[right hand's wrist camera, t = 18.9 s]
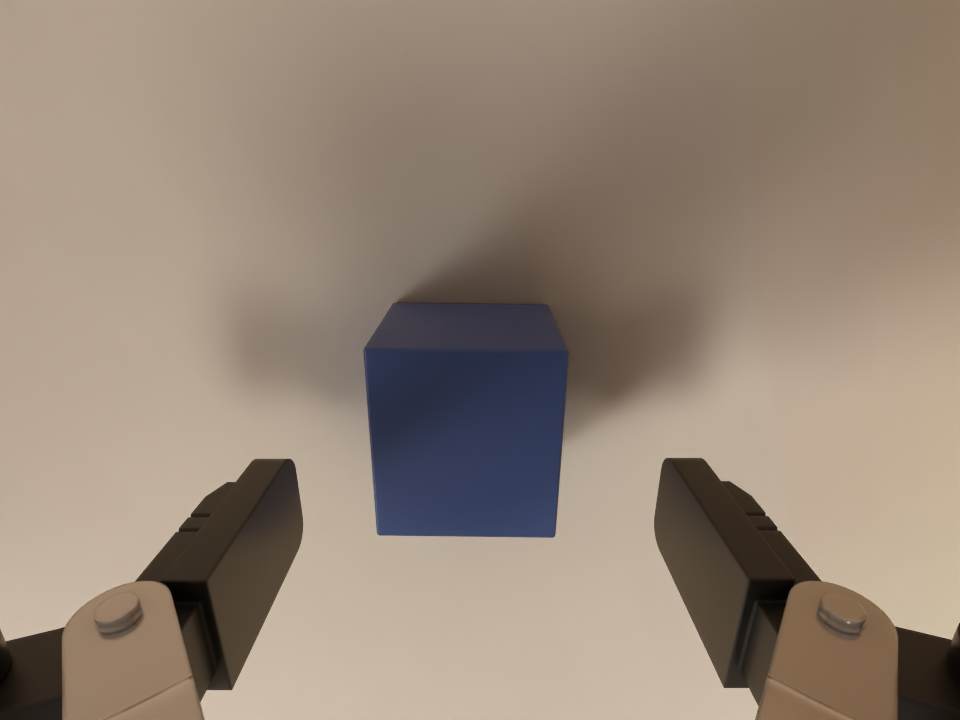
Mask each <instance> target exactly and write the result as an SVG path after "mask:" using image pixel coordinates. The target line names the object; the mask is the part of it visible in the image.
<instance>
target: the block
mask: <svg viewBox="0 0 960 720" xmlns="http://www.w3.org/2000/svg"><path fill="white" fill-rule="evenodd" d="M568 361H569V351H568V349H567V347H566V345H565V342H564V340H563V338H562V336H561V334H560V331H559V329H558V327H557V325H556V322H555V320H554V318H553V316H552V313H551V311H550V309H549V307H548V305H544V304H457V303H393V305H392V306H391V308H390V309H389V311H388V312H387V314H386V316H385V317H384V319H383V320H382V322H381V323H380V325H379V326H378V328H377V330H376V331H375V333H374V334H373V336H372V337H371V339H370V340H369V342H368V344H367V345H366V347H365V348H364V364H365V377H366V391H367V404H368V418H369V431H370V445H371V459H372V472H373V486H374V499H375V513H376V526H377V534H378V535H396V536H474V537H552V538H553V537H554V536H555V533H556V520H557V507H558V494H559V480H560V467H561V454H562V441H563V427H564V414H565V401H566V388H567V374H568Z"/></svg>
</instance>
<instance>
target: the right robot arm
mask: <svg viewBox="0 0 960 720" xmlns="http://www.w3.org/2000/svg"><path fill="white" fill-rule="evenodd" d="M654 529H655V537H656V541H657V545H658V548H659V550H660V552H661V554H662V556H663V558H664V561H665V563H666V565H667V567H668V569H669V571H670V573H671V576H672V578H673V580H674V582H675V584H676V586H677V588H678V591H679V593H680V595H681V597H682V599H683V601H684V603H685V605H686V608H687V610H688V612H689V614H690V616H691V618H692V620H693V623H694V625H695V627H696V629H697V631H698V633H699V635H700V638H701V640H702V642H703V644H704V646H705V648H706V650H707V652H708V655H709V657H710V659H711V661H712V663H713V665H714V667H715V670H716V672H717V674H718V676H719V678H720V680H721V682H722V685H723V687H724V688H749V689H750V691H751V692H752V694H753V696H754V698H755V700H756V702H757V704H758V706H759V708H758V711H757V715H756V719H755V720H960V623H959V625H958V627H957V630H956V632H955V635H954V637H953V639H952V640H950V639H945V638H941V637H937V636H933V635H929V634H924V633H920V632H916V631H912V630H907V629H903V628H899V627H895V626H894V624H893V623H892V621H891V620H890V619H889V617H888V616H887V615H886V614H885V613H884V612H883V611H882V610H881V609H880V608H879V607H878V606H876V605H875V604H874V603H872V602H871V601H870V600H868V599H866V598H865V597H863V596H862V595H860V594H858V593H856V592H854V591H852V590H850V589H847V588H845V587H842V586H839V585H836V584H832V583H828V582H822V581H821V580H820V579H819V577H818V576H817V575H816V574H815V573H814V571H813V570H812V569H811V568H810V567H809V565H808V564H807V563H806V562H805V560H804V559H803V558H802V557H801V556H800V554H799V553H798V552H797V551H796V550H795V548H794V547H793V546H792V545H791V543H790V542H789V541H788V540H787V539H786V537H785V536H784V535H783V534H782V533H781V531H778V530H777V526H776V525H775V524H774V523H773V522H772V520H771V519H770V518H769V517H768V516H766V515H765V512H764V511H763V509H762V508H761V507H760V506H759V505H758V503H757V502H756V501H755V500H754V499H753V497H752V496H751V495H749V494H748V493H746V492H745V491H743V490H742V489H740V488H739V487H737V486H736V485H734V484H733V483H731V482H730V481H720V479H719V478H718V477H717V475H716V474H715V473H714V472H713V470H712V469H711V468H710V466H709V465H708V464H707V462H706V461H705V460H704V459H702V458H666V459H665V460H664V462H663V464H662V468H661V475H660V482H659V489H658V496H657V503H656V510H655V518H654ZM302 533H303V516H302V509H301V502H300V495H299V488H298V481H297V474H296V468H295V464H294V462H293V461H292V460H291V459H254V460H253V461H252V462H251V463H250V464H249V466H248V467H247V468H246V470H245V471H244V472H243V474H242V475H241V476H240V477H239V479H238V480H237V481H236V482H227V483H226V484H224V485H223V486H221V487H220V488H218V489H217V490H215V491H214V492H212V493H211V494H209V495H208V496H206V497H205V498H204V499H203V500H202V502H201V503H200V504H199V505H198V506H197V508H196V509H195V510H194V511H193V512H192V514H191V518H187V520H186V521H185V522H184V523H183V524H182V526H181V527H180V528H179V532H176V533H175V534H174V535H173V536H172V538H171V539H170V540H169V541H168V542H167V544H166V545H165V546H164V547H163V549H162V550H161V551H160V552H159V553H158V555H157V556H156V557H155V558H154V559H153V561H152V562H151V563H150V564H149V565H148V567H147V568H146V569H145V570H144V571H143V573H142V574H141V575H140V576H139V577H138V579H137V580H136V581H135V582H132V583H128V584H124V585H121V586H118V587H115V588H113V589H110V590H108V591H106V592H104V593H102V594H100V595H98V596H97V597H95V598H94V599H92V600H90V601H89V602H88V603H86V604H85V605H84V606H82V607H81V608H80V609H79V610H78V611H77V612H76V613H75V614H74V615H73V616H72V617H71V619H70V620H69V621H68V623H67V624H66V626H65V627H64V628H60V629H56V630H52V631H48V632H44V633H39V634H35V635H31V636H27V637H23V638H18V639H14V640H10V641H6V642H5V639H4V637H3V635H2V632H1V630H0V720H205V719H204V715H203V711H202V708H201V704H200V702H201V700H202V698H203V696H204V694H205V692H206V690H232V689H233V687H234V685H235V682H236V680H237V678H238V676H239V674H240V672H241V670H242V668H243V666H244V663H245V661H246V659H247V657H248V655H249V653H250V651H251V649H252V647H253V644H254V642H255V640H256V638H257V636H258V634H259V632H260V630H261V628H262V625H263V623H264V621H265V619H266V617H267V615H268V613H269V611H270V609H271V606H272V604H273V602H274V600H275V598H276V596H277V594H278V592H279V590H280V587H281V585H282V583H283V581H284V579H285V577H286V575H287V573H288V571H289V568H290V566H291V564H292V562H293V560H294V558H295V556H296V554H297V552H298V549H299V547H300V544H301V539H302Z"/></svg>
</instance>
